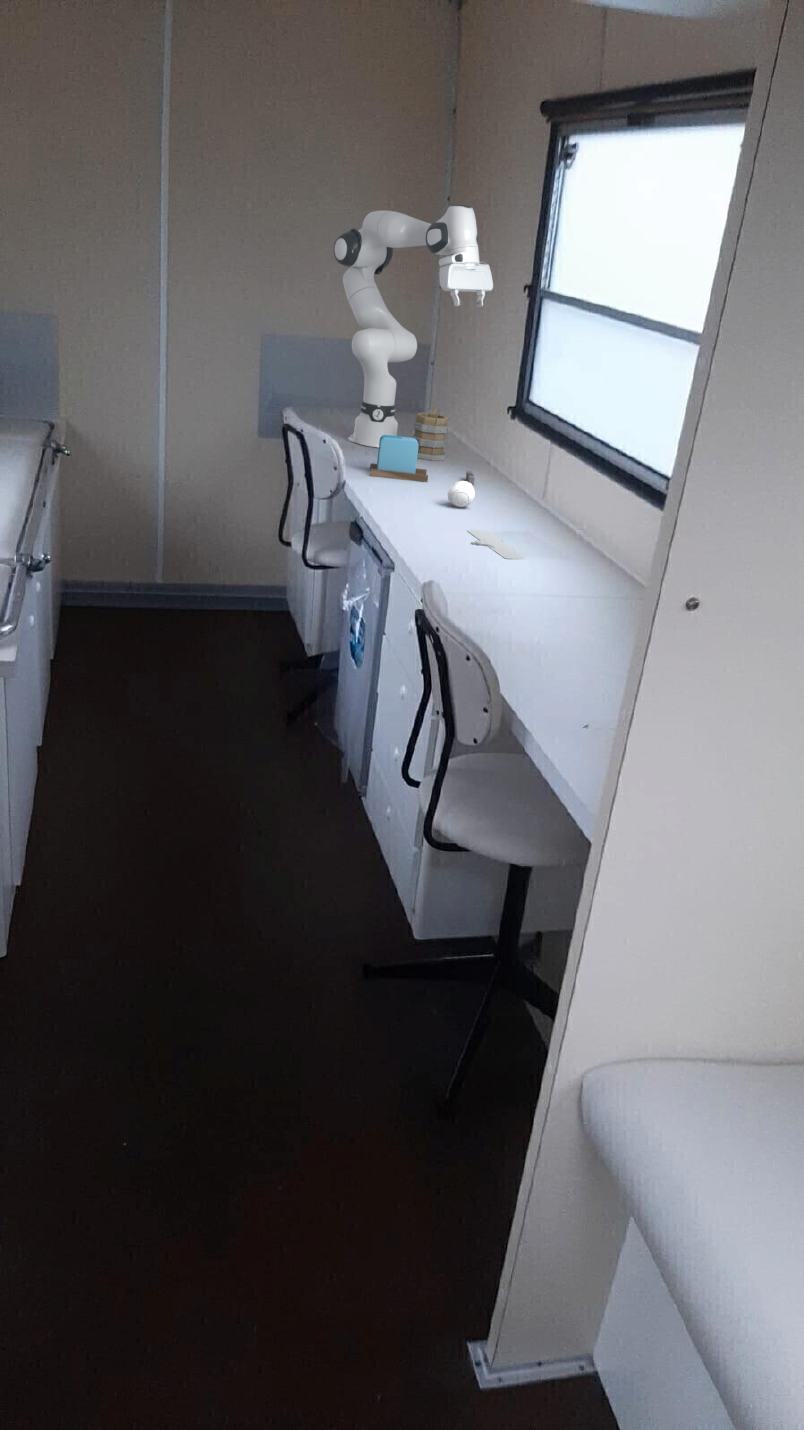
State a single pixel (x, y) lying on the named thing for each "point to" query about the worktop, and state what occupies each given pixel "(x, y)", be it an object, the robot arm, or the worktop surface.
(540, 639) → the worktop surface
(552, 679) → the worktop surface
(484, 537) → the white flat panel
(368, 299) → the robot arm
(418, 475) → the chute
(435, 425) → the tankard
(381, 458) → the data package
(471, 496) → the white ball
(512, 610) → the worktop surface
